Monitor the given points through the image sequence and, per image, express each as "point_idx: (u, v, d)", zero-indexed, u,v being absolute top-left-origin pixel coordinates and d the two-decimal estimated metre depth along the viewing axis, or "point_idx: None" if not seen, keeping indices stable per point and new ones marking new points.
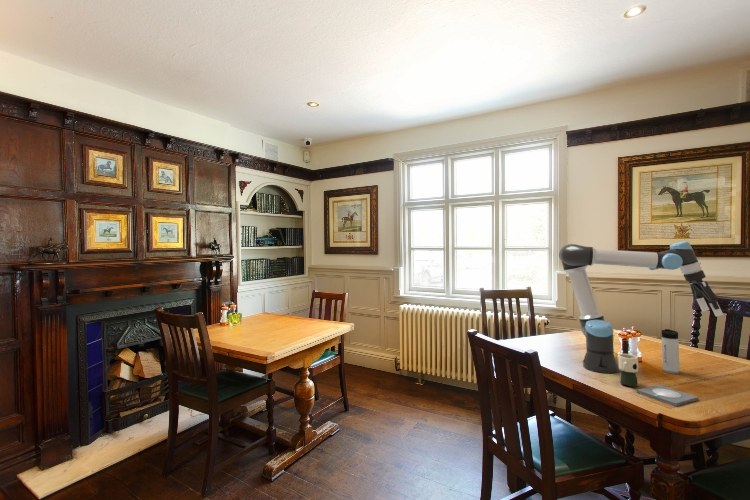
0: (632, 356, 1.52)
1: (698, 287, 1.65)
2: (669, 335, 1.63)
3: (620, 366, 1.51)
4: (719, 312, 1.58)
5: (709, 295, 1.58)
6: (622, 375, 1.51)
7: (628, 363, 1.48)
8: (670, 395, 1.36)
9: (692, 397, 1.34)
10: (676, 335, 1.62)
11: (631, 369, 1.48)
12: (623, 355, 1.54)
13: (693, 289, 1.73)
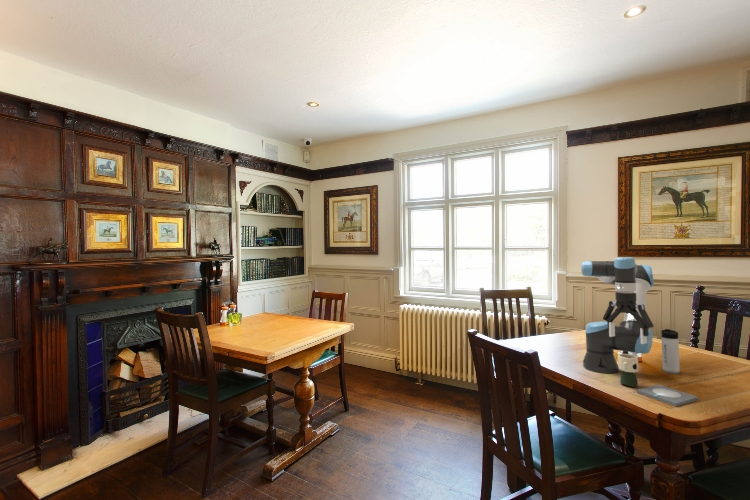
0: (632, 356, 1.52)
1: None
2: (669, 335, 1.63)
3: (620, 366, 1.51)
4: None
5: None
6: (622, 375, 1.51)
7: (628, 363, 1.48)
8: (670, 395, 1.36)
9: (692, 397, 1.34)
10: (676, 335, 1.62)
11: (631, 369, 1.48)
12: (623, 355, 1.54)
13: None
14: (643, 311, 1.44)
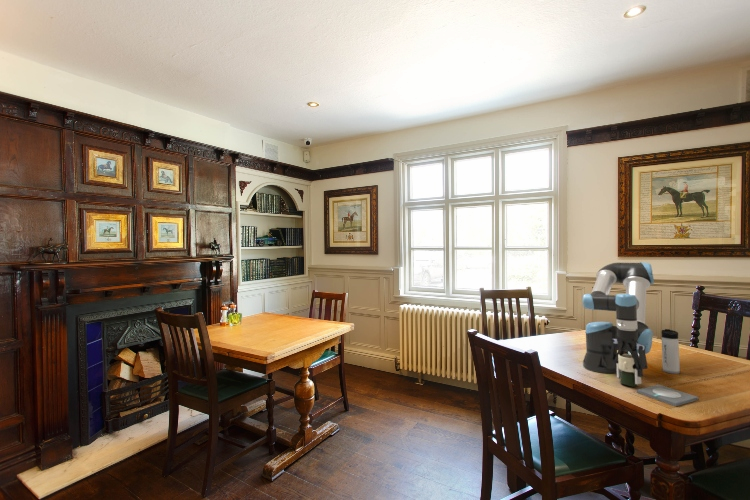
0: None
1: None
2: (669, 335, 1.63)
3: (620, 366, 1.51)
4: None
5: None
6: (622, 375, 1.51)
7: (628, 363, 1.48)
8: (670, 395, 1.36)
9: (692, 397, 1.34)
10: (676, 335, 1.62)
11: (631, 368, 1.48)
12: (623, 355, 1.54)
13: None
14: (642, 352, 1.45)
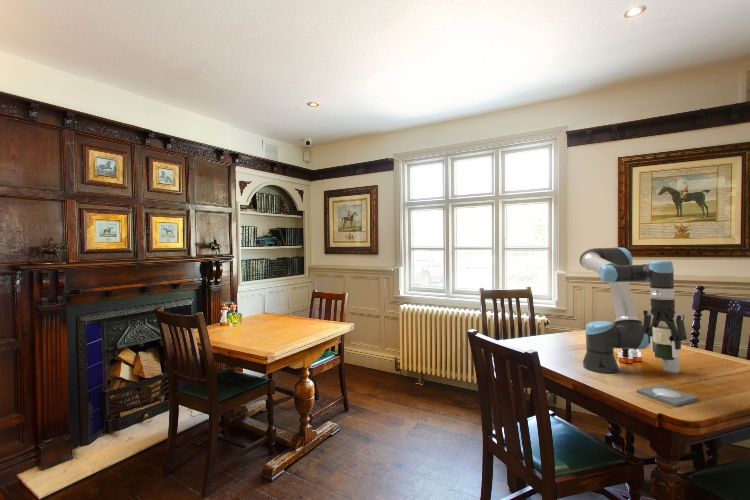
0: (668, 328, 1.40)
1: None
2: None
3: (655, 338, 1.39)
4: None
5: None
6: (657, 348, 1.39)
7: (664, 335, 1.36)
8: (670, 395, 1.36)
9: (692, 397, 1.34)
10: None
11: (667, 341, 1.36)
12: (657, 327, 1.42)
13: None
14: (681, 322, 1.33)
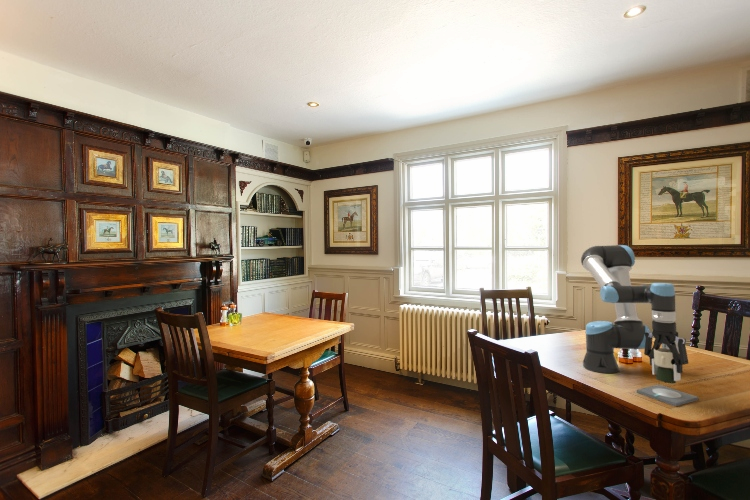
0: (669, 350, 1.40)
1: None
2: None
3: (656, 361, 1.39)
4: None
5: None
6: (659, 371, 1.39)
7: (666, 358, 1.36)
8: (670, 395, 1.36)
9: (692, 397, 1.34)
10: None
11: (669, 364, 1.35)
12: (659, 349, 1.42)
13: None
14: (683, 346, 1.33)
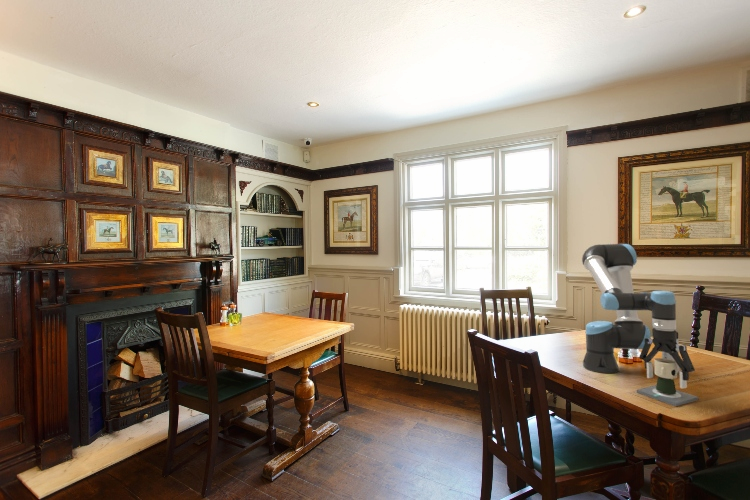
0: (670, 361, 1.40)
1: None
2: None
3: (657, 372, 1.39)
4: None
5: None
6: (659, 381, 1.39)
7: (666, 369, 1.36)
8: (670, 395, 1.36)
9: (692, 397, 1.34)
10: None
11: (669, 375, 1.36)
12: (659, 360, 1.42)
13: None
14: (685, 353, 1.32)
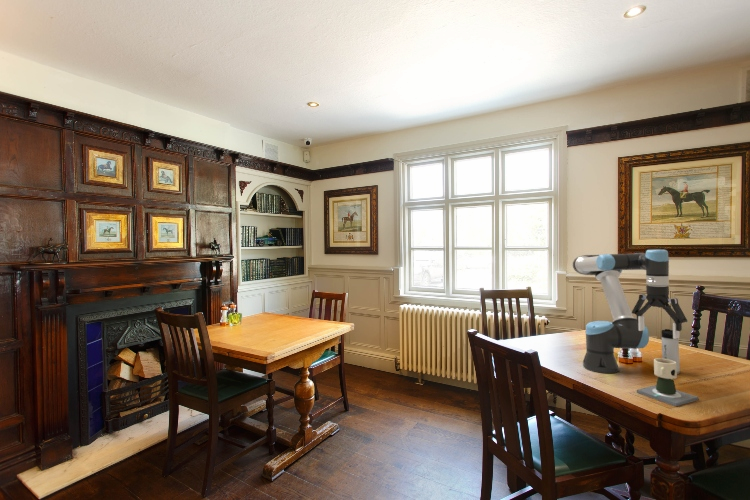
0: (669, 361, 1.40)
1: None
2: (669, 335, 1.63)
3: (656, 372, 1.39)
4: None
5: None
6: (658, 382, 1.39)
7: (666, 369, 1.36)
8: (670, 395, 1.36)
9: (692, 397, 1.34)
10: None
11: (669, 375, 1.36)
12: (659, 360, 1.42)
13: None
14: (676, 305, 1.40)
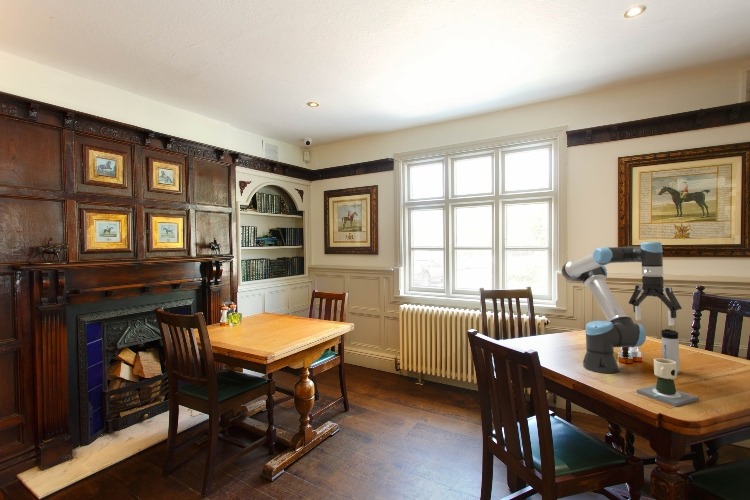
0: (669, 361, 1.40)
1: None
2: (669, 335, 1.63)
3: (656, 372, 1.39)
4: None
5: None
6: (658, 382, 1.39)
7: (666, 369, 1.36)
8: (670, 395, 1.36)
9: (692, 397, 1.34)
10: (676, 335, 1.62)
11: (669, 375, 1.36)
12: (659, 360, 1.42)
13: None
14: (671, 294, 1.47)
